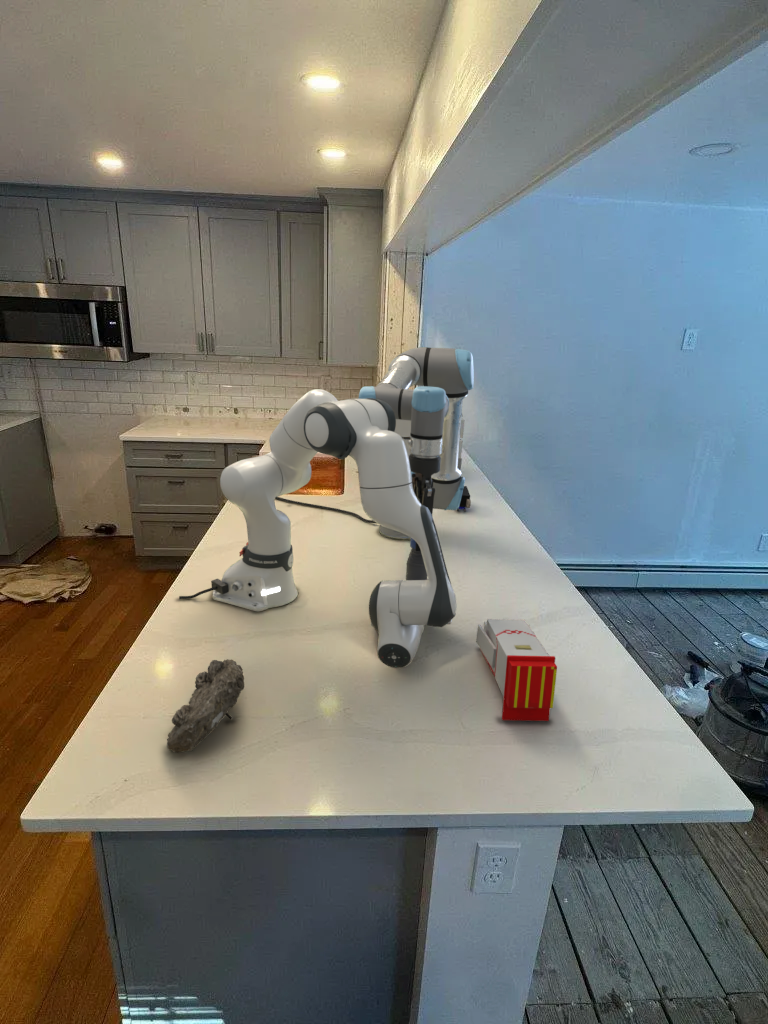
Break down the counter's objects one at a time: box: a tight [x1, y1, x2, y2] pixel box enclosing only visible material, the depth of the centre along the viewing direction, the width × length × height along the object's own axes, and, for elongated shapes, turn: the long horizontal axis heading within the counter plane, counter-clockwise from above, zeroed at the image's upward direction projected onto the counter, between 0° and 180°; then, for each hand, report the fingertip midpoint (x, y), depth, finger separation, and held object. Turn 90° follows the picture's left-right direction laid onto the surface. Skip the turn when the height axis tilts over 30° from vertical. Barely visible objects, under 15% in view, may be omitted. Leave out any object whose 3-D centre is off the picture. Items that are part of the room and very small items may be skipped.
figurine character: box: [456, 485, 472, 513], centre depth 228 cm, size 7×8×15 cm
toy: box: [475, 618, 558, 722], centre depth 122 cm, size 12×13×30 cm
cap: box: [409, 538, 416, 549], centre depth 140 cm, size 4×4×2 cm
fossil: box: [166, 658, 245, 754], centre depth 106 cm, size 22×10×15 cm
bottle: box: [405, 547, 428, 580], centre depth 144 cm, size 5×5×21 cm
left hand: (415, 592), depth 146 cm, fingers closed on bottle, 5 cm apart
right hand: (418, 546), depth 141 cm, fingers closed on cap, 4 cm apart
